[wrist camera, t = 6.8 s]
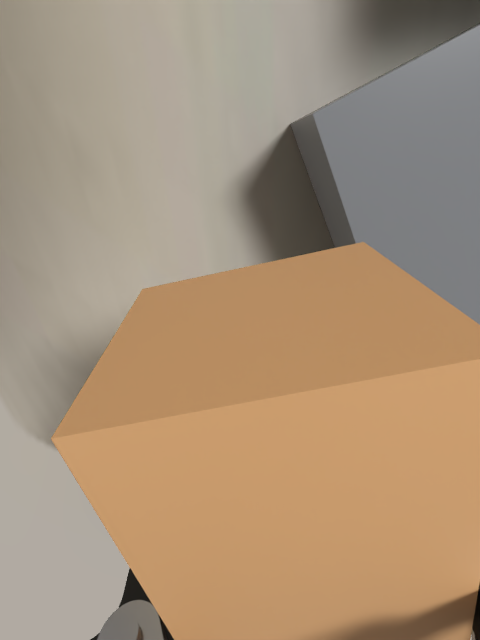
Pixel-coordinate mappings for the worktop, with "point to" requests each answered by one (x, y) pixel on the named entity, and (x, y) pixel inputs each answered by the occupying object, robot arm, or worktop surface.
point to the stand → (407, 168)
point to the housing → (290, 452)
